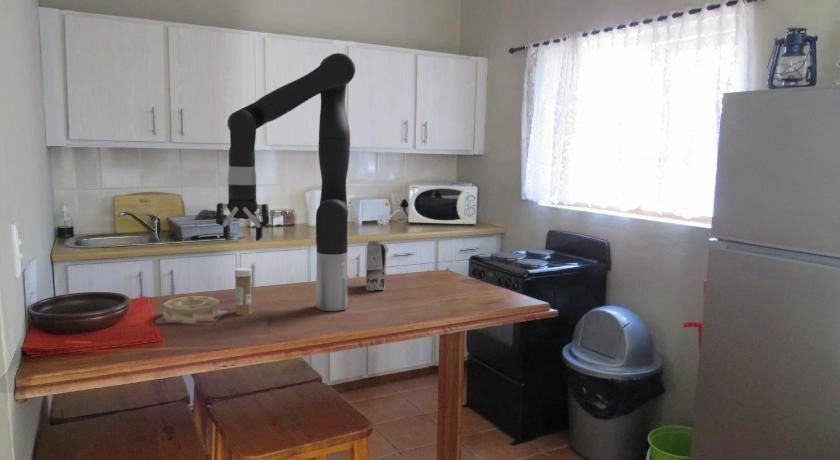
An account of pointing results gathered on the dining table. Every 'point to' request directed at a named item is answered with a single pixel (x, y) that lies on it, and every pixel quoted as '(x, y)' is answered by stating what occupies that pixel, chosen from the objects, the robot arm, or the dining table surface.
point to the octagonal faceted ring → (191, 309)
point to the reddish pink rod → (196, 321)
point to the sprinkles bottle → (243, 291)
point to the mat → (221, 312)
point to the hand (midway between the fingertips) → (242, 240)
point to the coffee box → (376, 266)
